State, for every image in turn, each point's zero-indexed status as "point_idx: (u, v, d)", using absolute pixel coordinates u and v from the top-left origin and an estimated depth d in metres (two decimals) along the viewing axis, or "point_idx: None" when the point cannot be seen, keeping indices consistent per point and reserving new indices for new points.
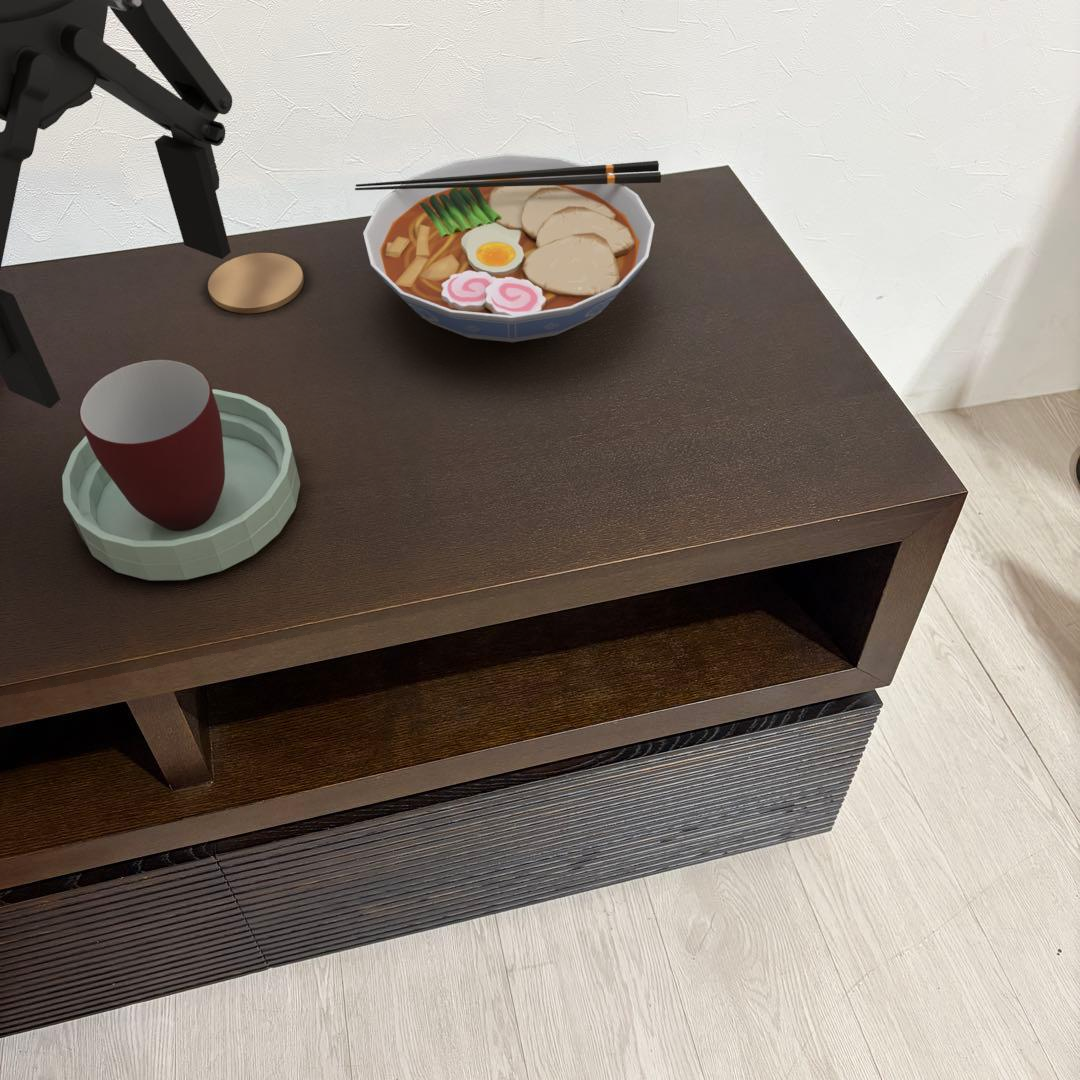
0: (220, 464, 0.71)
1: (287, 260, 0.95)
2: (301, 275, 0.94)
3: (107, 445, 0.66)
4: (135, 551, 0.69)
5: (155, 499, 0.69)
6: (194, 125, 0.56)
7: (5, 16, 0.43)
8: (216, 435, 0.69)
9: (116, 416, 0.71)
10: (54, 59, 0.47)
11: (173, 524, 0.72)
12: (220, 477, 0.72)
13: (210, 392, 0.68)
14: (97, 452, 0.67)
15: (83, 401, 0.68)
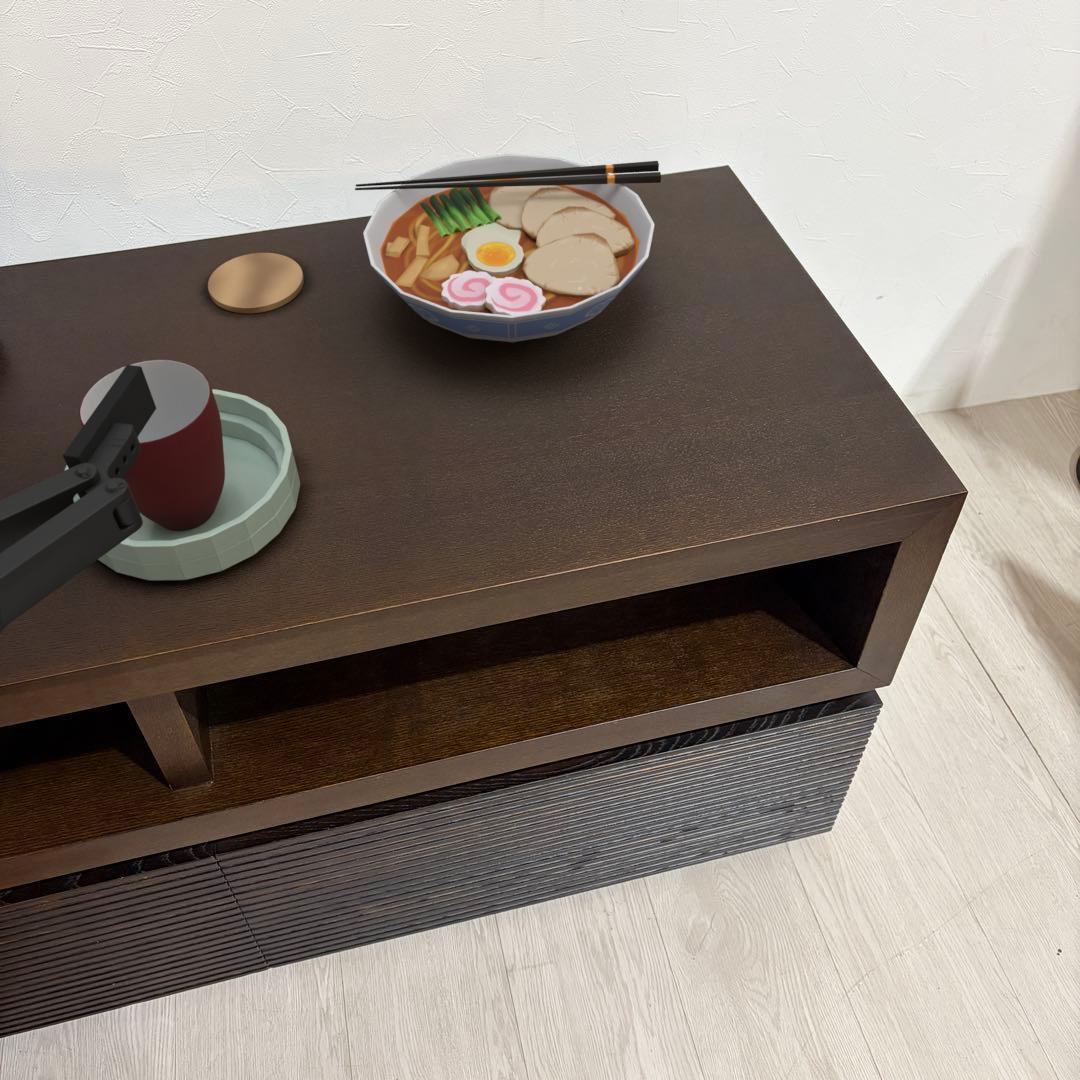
0: (220, 464, 0.71)
1: (287, 260, 0.95)
2: (301, 275, 0.94)
3: None
4: (135, 551, 0.69)
5: (155, 499, 0.69)
6: None
7: None
8: (216, 435, 0.69)
9: None
10: None
11: (173, 524, 0.72)
12: (220, 477, 0.72)
13: (210, 392, 0.68)
14: None
15: (83, 401, 0.68)
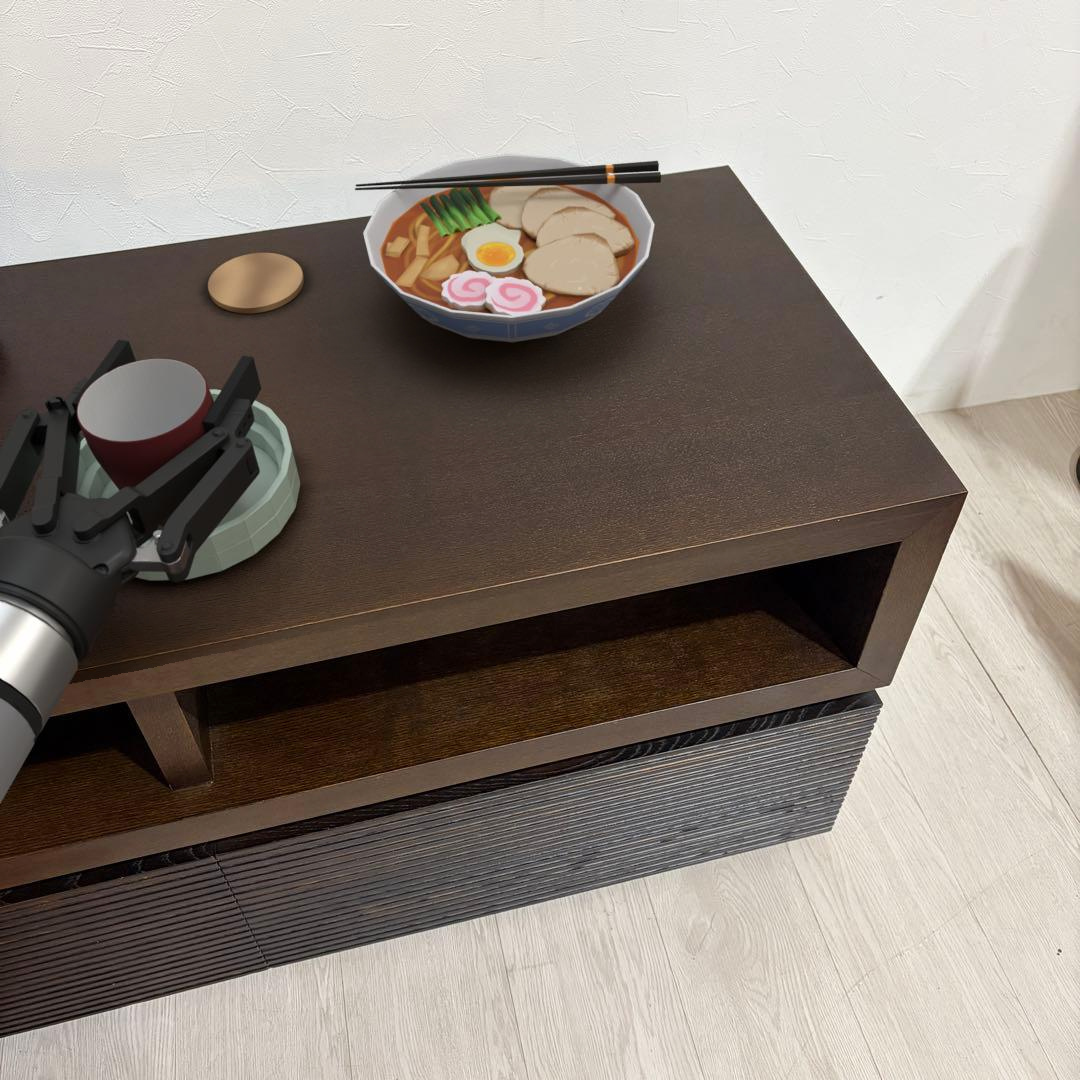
0: None
1: (287, 260, 0.95)
2: (301, 275, 0.94)
3: (104, 443, 0.66)
4: None
5: None
6: None
7: None
8: None
9: (114, 416, 0.71)
10: None
11: None
12: None
13: (206, 389, 0.68)
14: (94, 451, 0.67)
15: (80, 400, 0.68)
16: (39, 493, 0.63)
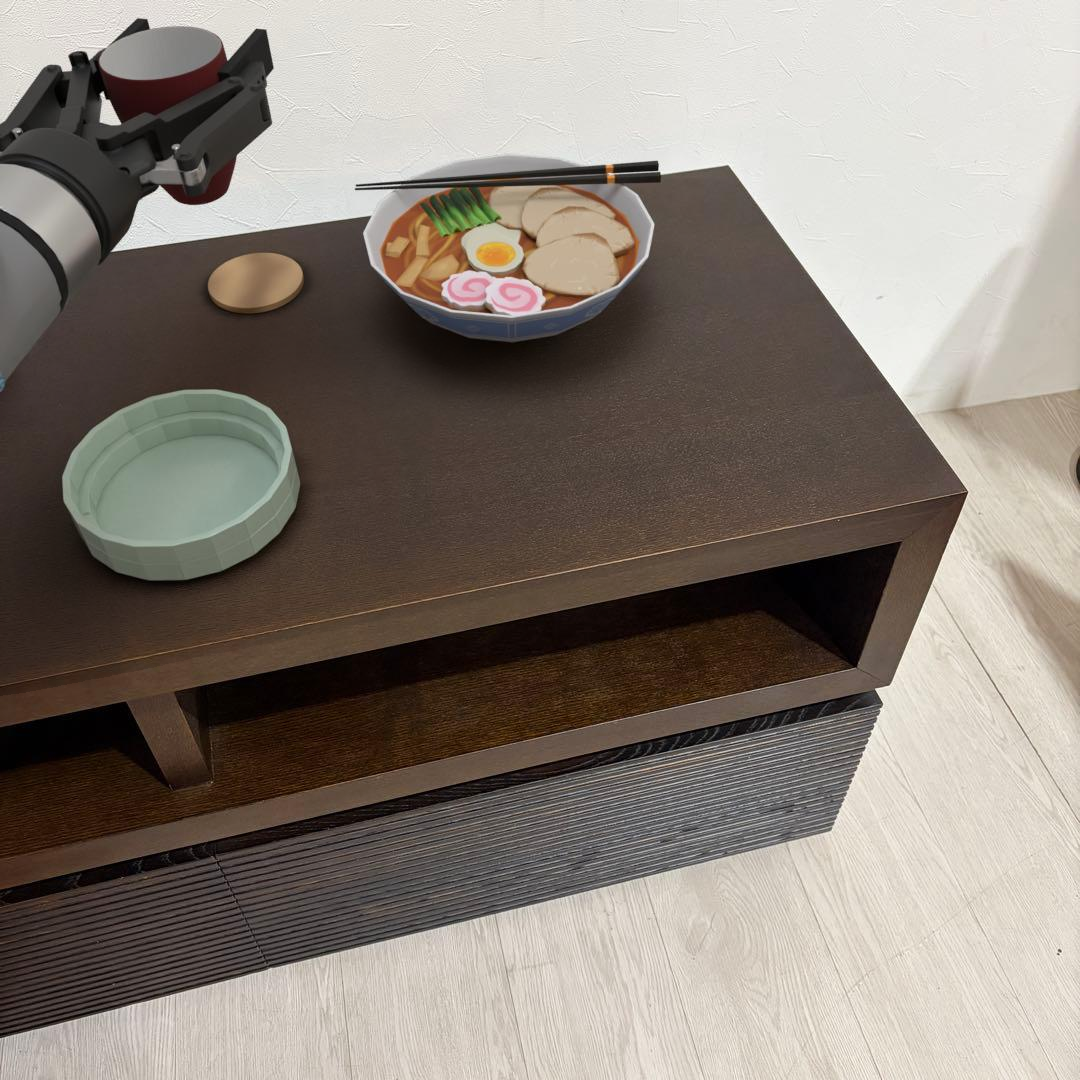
0: None
1: (287, 260, 0.95)
2: (301, 275, 0.94)
3: (124, 83, 0.69)
4: (135, 551, 0.69)
5: None
6: None
7: None
8: None
9: None
10: None
11: None
12: None
13: (222, 46, 0.72)
14: (115, 98, 0.71)
15: (102, 54, 0.72)
16: (64, 116, 0.67)
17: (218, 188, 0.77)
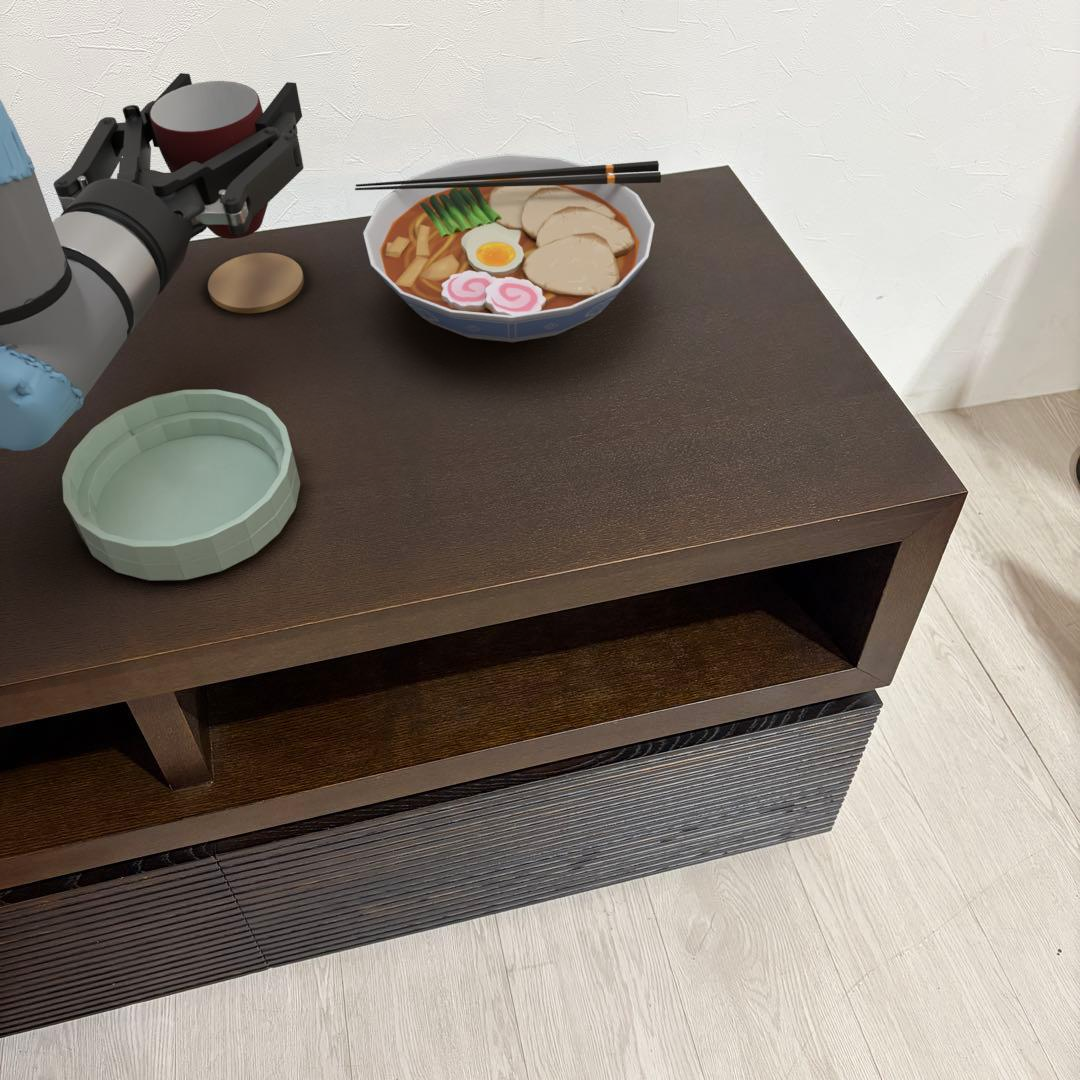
0: None
1: (287, 260, 0.95)
2: (301, 275, 0.94)
3: (174, 134, 0.78)
4: (135, 551, 0.69)
5: None
6: None
7: None
8: None
9: None
10: None
11: (227, 227, 0.85)
12: None
13: (258, 99, 0.81)
14: (165, 146, 0.80)
15: (152, 108, 0.81)
16: (122, 165, 0.76)
17: (253, 223, 0.86)
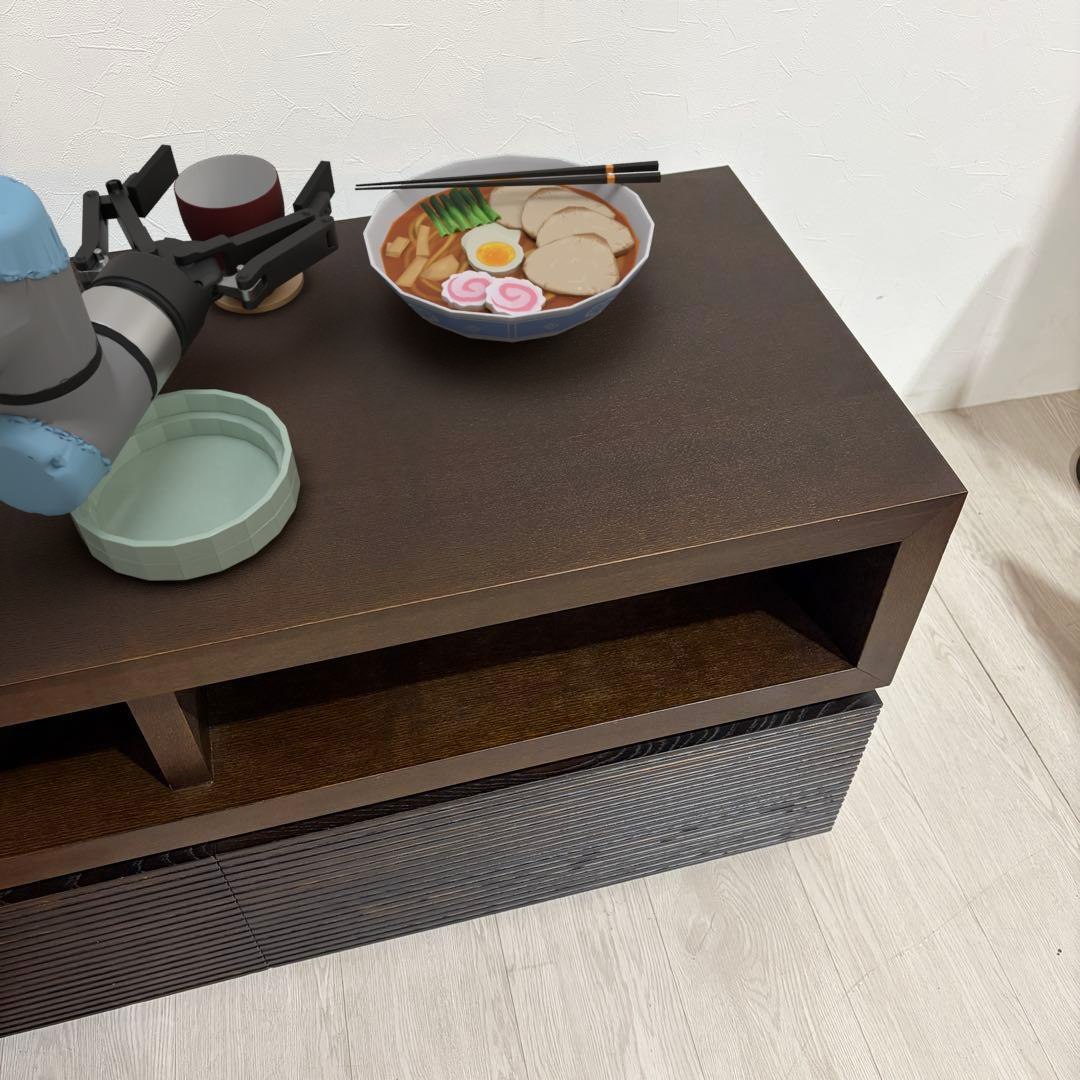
0: None
1: None
2: (301, 275, 0.94)
3: (197, 210, 0.83)
4: (135, 551, 0.69)
5: None
6: None
7: None
8: (281, 212, 0.86)
9: (199, 202, 0.88)
10: None
11: None
12: None
13: (277, 175, 0.85)
14: (188, 220, 0.84)
15: (176, 181, 0.85)
16: (136, 237, 0.80)
17: None
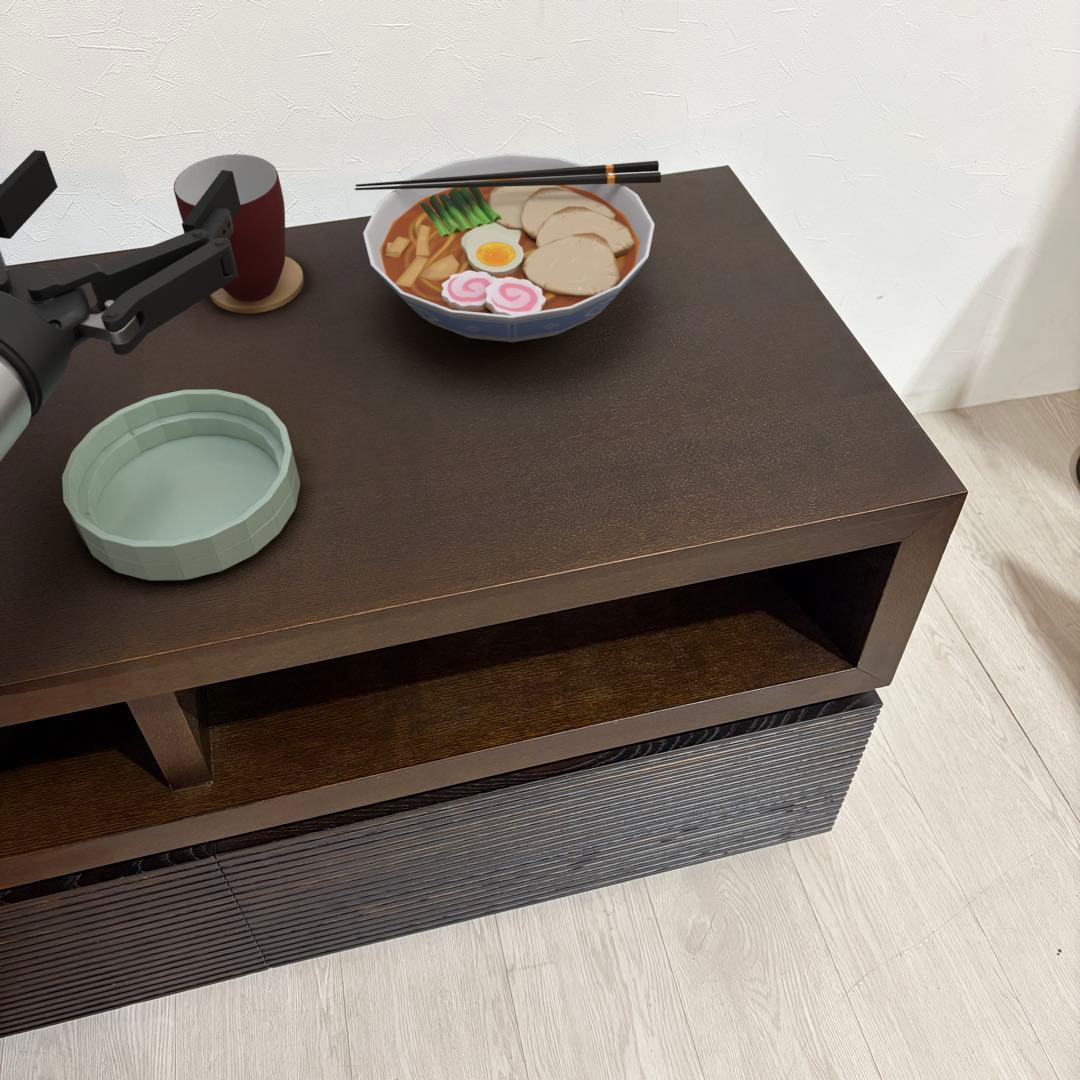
0: (283, 241, 0.89)
1: (287, 260, 0.95)
2: (301, 275, 0.94)
3: None
4: (135, 551, 0.69)
5: None
6: None
7: None
8: (281, 212, 0.86)
9: None
10: None
11: (244, 292, 0.90)
12: (282, 253, 0.89)
13: (277, 175, 0.85)
14: None
15: (176, 181, 0.85)
16: None
17: (269, 288, 0.91)
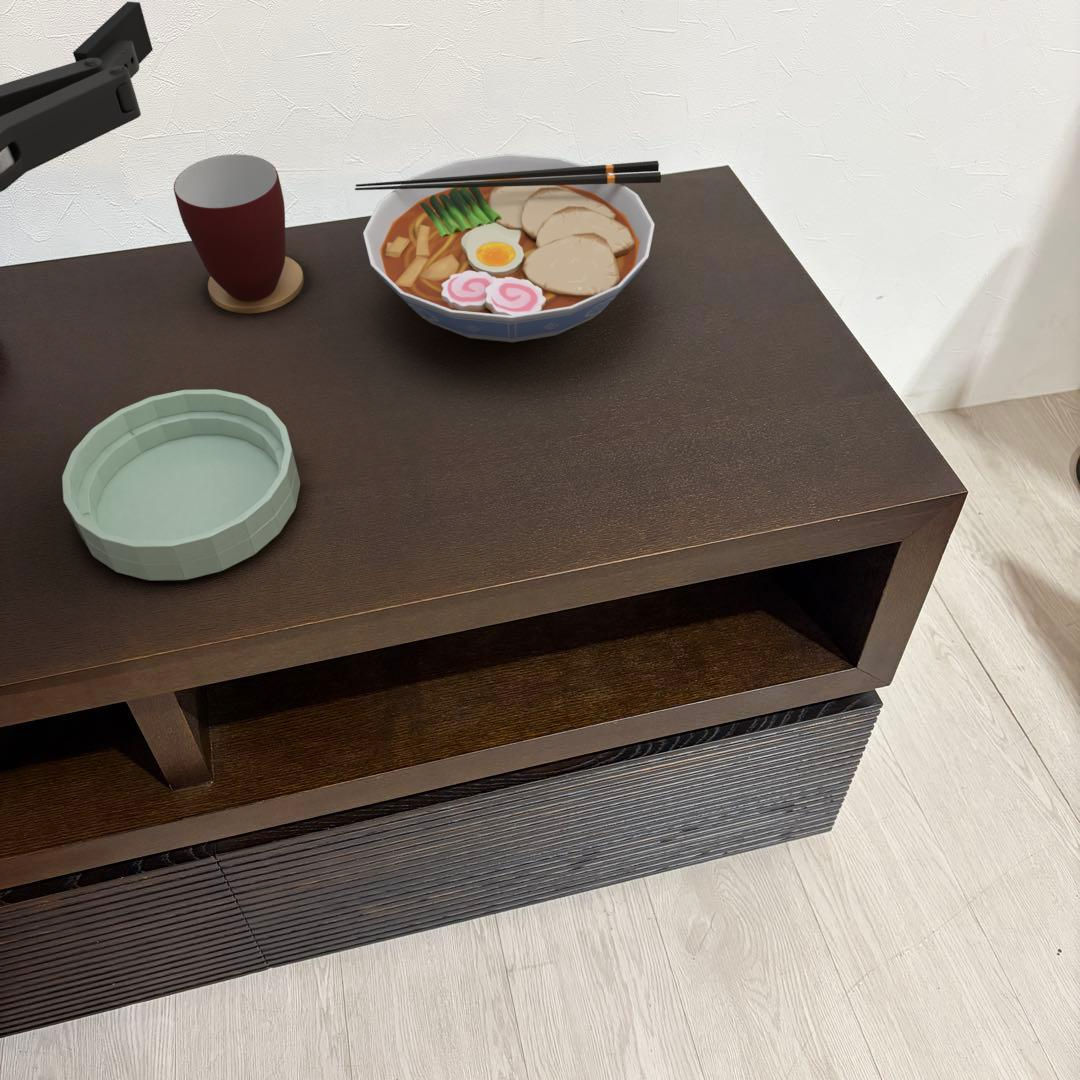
0: (283, 241, 0.89)
1: (287, 260, 0.95)
2: (301, 275, 0.94)
3: (197, 210, 0.83)
4: (135, 551, 0.69)
5: (232, 263, 0.86)
6: None
7: None
8: (281, 212, 0.86)
9: (199, 202, 0.88)
10: None
11: (244, 292, 0.90)
12: (282, 253, 0.89)
13: (277, 175, 0.85)
14: (188, 220, 0.84)
15: (176, 181, 0.85)
16: None
17: (269, 288, 0.91)
